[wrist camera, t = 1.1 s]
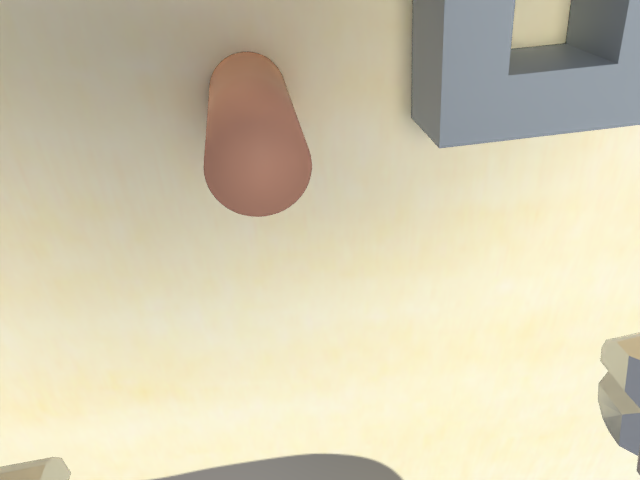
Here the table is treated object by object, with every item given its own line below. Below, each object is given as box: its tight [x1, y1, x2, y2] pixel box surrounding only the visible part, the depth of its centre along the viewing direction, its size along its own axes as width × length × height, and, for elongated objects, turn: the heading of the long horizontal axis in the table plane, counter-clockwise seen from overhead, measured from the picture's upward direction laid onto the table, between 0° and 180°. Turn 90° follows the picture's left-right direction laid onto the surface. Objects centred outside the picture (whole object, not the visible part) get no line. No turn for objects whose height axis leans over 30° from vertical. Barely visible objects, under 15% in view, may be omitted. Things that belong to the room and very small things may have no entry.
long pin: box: [204, 52, 312, 217], centre depth 27 cm, size 4×4×11 cm
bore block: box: [411, 0, 640, 148], centre depth 29 cm, size 12×12×5 cm
